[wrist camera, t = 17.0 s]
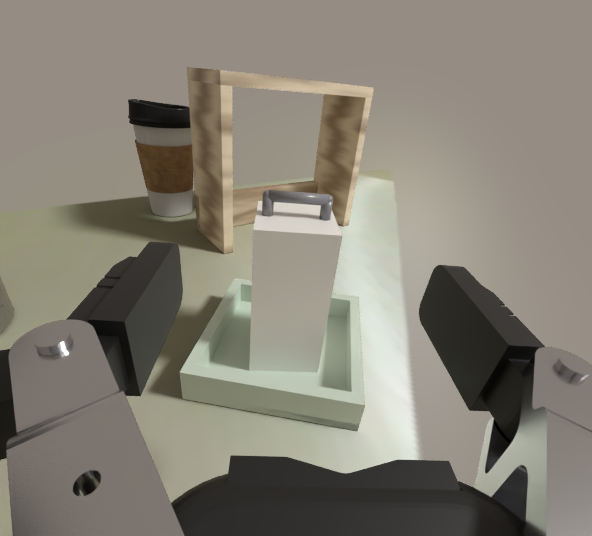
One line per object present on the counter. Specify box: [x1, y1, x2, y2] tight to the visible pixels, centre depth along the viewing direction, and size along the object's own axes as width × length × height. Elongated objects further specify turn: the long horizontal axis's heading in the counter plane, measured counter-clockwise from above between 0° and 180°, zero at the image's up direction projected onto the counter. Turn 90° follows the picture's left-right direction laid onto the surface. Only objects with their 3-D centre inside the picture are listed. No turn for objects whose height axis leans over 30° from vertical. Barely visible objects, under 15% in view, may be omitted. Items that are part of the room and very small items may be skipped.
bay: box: [187, 67, 374, 254], centre depth 43 cm, size 8×22×19 cm, turn 127°
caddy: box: [249, 190, 342, 373], centre depth 23 cm, size 5×5×13 cm
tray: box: [179, 278, 365, 431], centre depth 25 cm, size 12×12×2 cm
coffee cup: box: [128, 99, 193, 217], centre depth 46 cm, size 8×8×15 cm
